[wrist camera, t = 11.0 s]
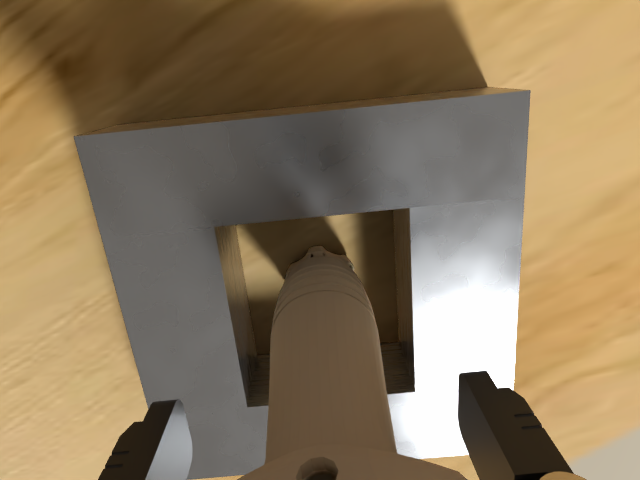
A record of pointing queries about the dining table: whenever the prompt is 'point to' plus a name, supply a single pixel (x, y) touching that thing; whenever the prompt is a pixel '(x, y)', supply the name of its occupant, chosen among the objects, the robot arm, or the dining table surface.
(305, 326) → the handle
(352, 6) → the dining table surface
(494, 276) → the block
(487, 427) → the robot arm
